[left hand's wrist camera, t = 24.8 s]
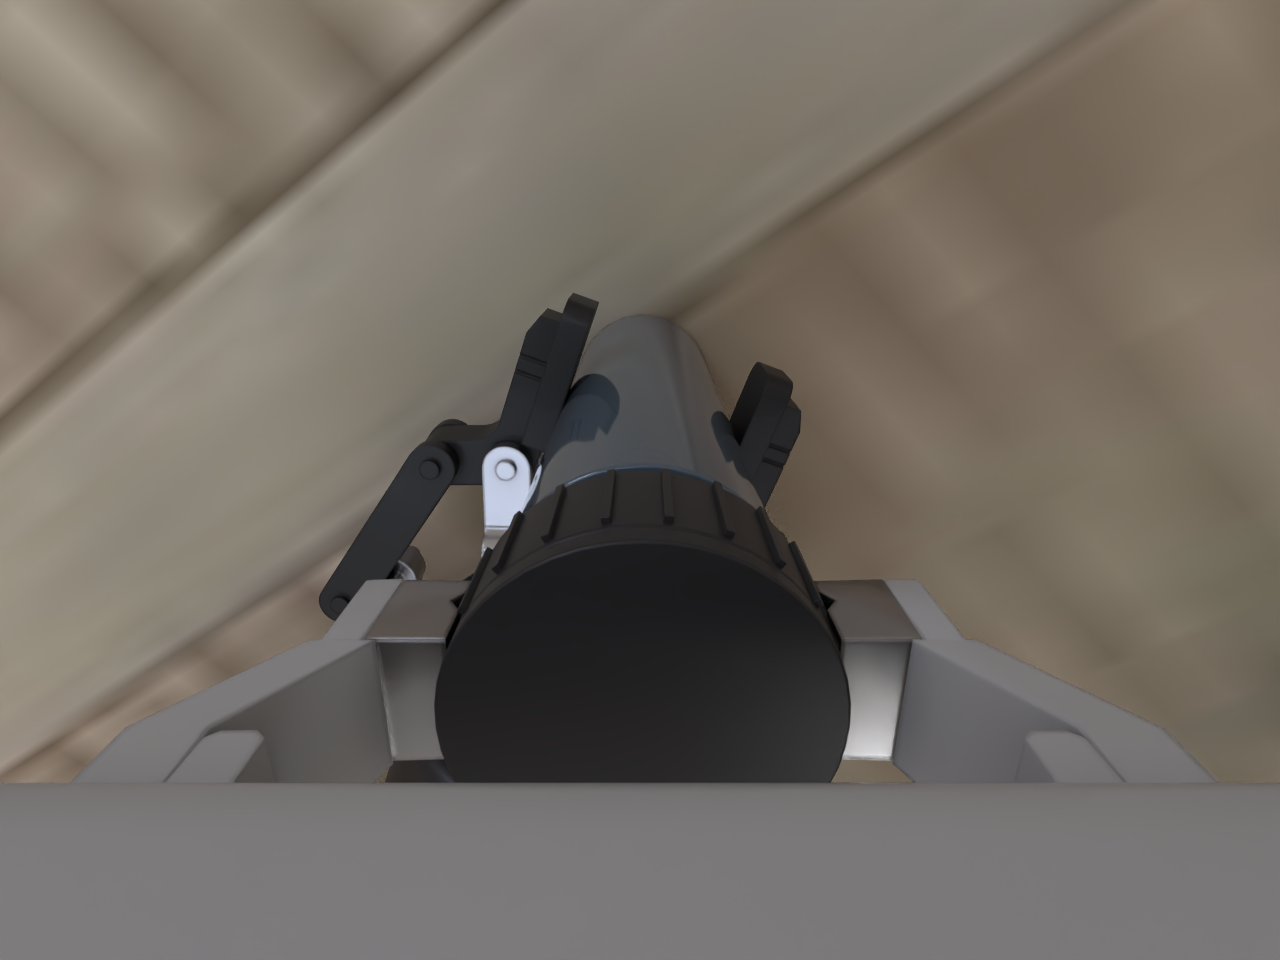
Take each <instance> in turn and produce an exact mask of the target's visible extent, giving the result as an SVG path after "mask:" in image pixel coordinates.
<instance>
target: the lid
mask: <svg viewBox="0 0 1280 960" xmlns="http://www.w3.org/2000/svg"><path fill="white" fill-rule="evenodd" d="M457 612H458V613H459V616H460V621H459V624H458V626H457V628H456V630H455V633H454V635H453V637H452V639H451V642H450V644H449V646H448V648H447V651H446V653H445V655H444V657H443V660H442V663H441V667H440V670H439V674H438V678H437V682H436V690H435V700H434V713H435V727H436V732H437V736H438V741H439V745H440V750H441V753H442V755H443V758H444V760H445V763H446V765H447V768H448V770H449V772H450V774H451V776H452V777H453V779H454V781H455V783H831V781H832V779H833V777H834V775H835V773H836V772H837V770H838V767H839V765H840V762H841V759H842V757H843V754H844V751H845V748H846V744H847V739H848V734H849V729H850V720H851V697H850V689H849V682H848V677H847V674H846V671H845V667H844V664H843V660H842V657H841V655H840V653H839V644H838V642H837V640H836V638H835V636H834V634H833V632H832V629H831V627H830V625H829V623H828V621H827V619H826V618H827V610H826V608H825V606H824V603H823V601H822V599H821V597H820V595H819V592H818V590H817V588H816V586H815V584H814V581H813V579H812V577H811V575H810V572H809V570H808V568H807V566H806V564H805V561H804V559H803V557H802V555H801V553H800V550H799V548H798V546H797V544H796V543H795V541H793V542H791V543H788V542H787V540H786V539H785V537H784V536H783V534H782V533H781V532H780V531H779V530H778V529H777V528H776V527H775V526H774V525H773V524H772V522H771V521H770V520H769V517H768V515H767V512H766V510H765V509H764V508H762V507H761V506H759V507H758V508H757V509H756V508H754V507H753V506H752V505H750V504H749V503H747V502H746V501H744V500H742V499H741V498H739V497H738V496H736V495H734V494H733V493H731V492H729V491H726V490H724V489H723V486H722V483H720V482H718V481H714V482H713V484H711V483H708V482H705V481H701V480H698V479H695V478H692V477H688V476H683V475H677V474H671V473H670V469H666V468H662V469H661V472H648V471H635V472H621V473H616V471H615V469H611V470H607V475H603V476H598V477H593V478H590V479H587V480H584V481H581V482H578V483H575V484H572V485H569V486H567V487H565V486H564V484H561V485H558V486H556V489H555V492H554V493H553V494H551V495H549V496H547V497H546V498H544V499H543V500H541V501H540V502H538V503H537V504H535V505H533V506H532V507H531V508H529V509H528V510H527V511H526V512H525V513H524V514H523V513H522V512H521V511H518V512H517V513H516V514H515V515H514V516H513V519H512V521H511V523H510V526H509V528H508V529H507V531H506V532H505V533H504V534H503V535H502V536H501V537H500V539H499V540H498V542H497V544H496V545H495V547H494V548H493V549H491V548H489V547H487V548H486V550H485V552H484V554H483V556H482V558H481V560H480V562H479V564H478V567H477V569H476V571H475V573H474V575H473V577H472V580H471V582H470V584H469V586H468V588H467V590H466V592H465V595H464V597H463V599H462V601H461V603H460V605H459V608H458V610H457Z"/></svg>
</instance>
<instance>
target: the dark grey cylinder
mask: <svg viewBox="0 0 1280 960" xmlns="http://www.w3.org/2000/svg"><path fill="white" fill-rule="evenodd" d="M662 468H666V469H670V473H671V474H677V475H683V476H688V477H692V478H695V479H698V480H701V481H705V482H708V483H711V484H713V482H714V481H718V482H720V483H722V486H723V489H724V490H726V491H729V492H731V493H733V494H734V495H736V496H738V497H739V498H741V499H742V500H744V501H746V502H747V503H749V504H750V505H752V506H753V507H754V508H756V509H757V508H758V507H759V506H761V507H762V508H764V507H763V505H762V502H761V500H760V497H759V495H758V492H757V490H756V487H755V485H754V482H753V480H752V477H751V475H750V472H749V470H748V467H747V465H746V462H745V460H744V457H743V455H742V452H741V450H740V447H739V445H738V442H737V440H736V437H735V435H734V432H733V430H732V427H731V425H730V422H729V420H728V417H727V415H726V412H725V410H724V407H723V405H722V402H721V400H720V397H719V395H718V392H717V390H716V387H715V385H714V382H713V380H712V378H711V375H710V373H709V370H708V368H707V365H706V363H705V360H704V358H703V355H702V353H701V351H700V349H699V347H698V345H697V344H696V342H695V341H694V339H693V338H692V337H691V336H690V335H689V334H688V333H687V332H686V331H685V330H684V329H682V328H681V327H680V326H678V325H676V324H675V323H673V322H671V321H669V320H667V319H664V318H660V317H656V316H650V315H637V316H630V317H626V318H623V319H620V320H618V321H615V322H613V323H612V324H610V325H608V326H607V327H605V328H604V329H603V330H601V331H600V332H599V333H598V334H597V335H596V336H595V337H594V339H593V340H592V341H591V343H590V344H589V346H588V348H587V349H586V351H585V354H584V356H583V358H582V361H581V363H580V366H579V368H578V371H577V373H576V376H575V378H574V381H573V383H572V386H571V388H570V391H569V393H568V396H567V398H566V401H565V403H564V406H563V408H562V411H561V413H560V415H559V418H558V420H557V423H556V425H555V428H554V430H553V432H552V435H551V437H550V440H549V442H548V445H547V447H546V450H545V452H544V455H543V457H542V460H541V462H540V465H539V467H538V469H537V472H536V474H535V477H534V479H533V482H532V484H531V487H530V489H529V492H528V494H527V497H526V499H525V501H524V504H523V506H522V509H521V512H522V513H523V514H524V513H525V512H526V511H527V510H528V509H529V508H531V507H532V506H533V505H535V504H537V503H538V502H540V501H541V500H543V499H544V498H546V497H547V496H549V495H551V494H553V493H554V492H555V489H556V486H558V485H561V484H564V486H565V487H567V486H569V485H572V484H575V483H578V482H581V481H584V480H587V479H590V478H593V477H598V476H603V475H607V470H611V469H615V471H616V473H621V472H635V471H648V472H661V469H662Z"/></svg>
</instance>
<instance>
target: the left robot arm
mask: <svg viewBox="0 0 1280 960" xmlns="http://www.w3.org/2000/svg"><path fill="white" fill-rule="evenodd" d="M470 582H471V581H449V580H404V579H382V580H368V581H366V582H365V583H364V584H363V585H362V587H361V588H360V589H359V591H358V592H357V593H356V595H355V596H354V597H353V599H352V600H351V601H350V603H349V604H348V605H347V606H346V608H345V609H344V610H343V612H342V613H341V614H340V616H339V617H338V618H337V620H336V621H335V622H334V624H333V625H332V626H331V628H330V629H329V630H328V632H327V633H326V634H325V636H324V637H323V638H322V640H308V641H306V642H304V643H302V644H300V645H298V646H296V647H294V648H292V649H289V650H287V651H285V652H283V653H281V654H279V655H277V656H275V657H273V658H271V659H268V660H266V661H264V662H262V663H260V664H258V665H256V666H254V667H252V668H250V669H247V670H245V671H243V672H241V673H239V674H237V675H235V676H233V677H231V678H229V679H226V680H224V681H222V682H220V683H218V684H216V685H214V686H212V687H210V688H208V689H205V690H203V691H201V692H199V693H197V694H195V695H193V696H191V697H189V698H187V699H184V700H182V701H180V702H178V703H176V704H174V705H172V706H170V707H168V708H166V709H163V710H161V711H159V712H157V713H155V714H153V715H151V716H149V717H147V718H144V719H142V720H140V721H138V722H136V723H134V724H132V725H130V726H128V727H126V728H125V729H124V730H123V731H122V732H121V733H120V734H119V735H118V736H117V737H116V738H115V739H114V740H113V741H112V742H111V743H110V744H109V745H108V746H107V747H106V748H105V749H103V750H102V751H101V752H100V753H99V754H98V755H97V756H96V757H95V758H94V759H93V760H92V761H91V762H90V763H89V764H88V765H87V766H86V767H85V768H84V769H83V770H82V771H81V772H80V773H79V774H78V775H77V776H76V777H75V778H74V779H73V780H72V781H71V782H70V783H0V960H1280V783H1219V782H1218V781H1217V780H1216V779H1215V778H1214V777H1213V776H1212V775H1211V774H1210V773H1209V772H1208V771H1207V770H1206V769H1205V768H1204V767H1203V766H1202V765H1201V764H1200V763H1199V762H1198V761H1197V760H1196V759H1195V758H1194V757H1193V756H1192V755H1191V754H1190V753H1189V752H1188V751H1187V750H1186V749H1185V748H1184V747H1183V746H1182V745H1181V744H1180V743H1179V742H1178V741H1177V740H1176V739H1175V738H1173V737H1172V736H1171V735H1170V734H1169V733H1168V732H1167V731H1166V730H1165V729H1164V728H1162V727H1160V726H1158V725H1156V724H1154V723H1152V722H1150V721H1148V720H1145V719H1143V718H1141V717H1139V716H1137V715H1135V714H1133V713H1131V712H1128V711H1126V710H1124V709H1122V708H1120V707H1118V706H1116V705H1114V704H1112V703H1109V702H1107V701H1105V700H1103V699H1101V698H1099V697H1097V696H1095V695H1093V694H1090V693H1088V692H1086V691H1084V690H1082V689H1080V688H1078V687H1076V686H1074V685H1071V684H1069V683H1067V682H1065V681H1063V680H1061V679H1059V678H1057V677H1055V676H1052V675H1050V674H1048V673H1046V672H1044V671H1042V670H1040V669H1038V668H1036V667H1033V666H1031V665H1029V664H1027V663H1025V662H1023V661H1021V660H1019V659H1016V658H1014V657H1012V656H1010V655H1008V654H1006V653H1004V652H1002V651H1000V650H997V649H995V648H993V647H991V646H989V645H987V644H985V643H983V642H981V641H978V640H965V639H964V637H963V636H962V635H961V633H960V632H959V631H958V630H957V628H956V627H955V626H954V624H953V623H952V622H951V621H950V619H949V618H948V617H947V615H946V614H945V613H944V612H943V610H942V609H941V608H940V606H939V605H938V604H937V603H936V601H935V600H934V599H933V597H932V596H931V595H930V594H929V592H928V591H927V590H926V588H925V587H924V586H923V585H922V583H921V582H920V581H918V580H915V579H898V580H840V581H814V584H815V586H816V588H817V590H818V592H819V595H820V597H821V599H822V601H823V603H824V606H825V608H826V610H827V618H826V619H827V621H828V623H829V625H830V627H831V629H832V632H833V634H834V636H835V638H836V640H837V642H838V644H839V653H840V655H841V657H842V660H843V664H844V667H845V671H846V674H847V677H848V682H849V689H850V697H851V720H850V729H849V734H848V739H847V744H846V748H845V751H844V754H843V757H842V759H850V760H887V761H893V764H894V765H895V766H896V767H897V768H898V769H900V770H901V771H902V772H903V773H904V774H905V775H906V776H908V777H909V778H910V779H911V780H912V781H913V782H914V783H372V782H374V781H375V780H376V779H377V778H378V777H379V776H380V775H382V774H383V773H384V772H385V771H386V770H387V769H388V768H389V767H391V766H392V765H393V761H399V760H434V759H444V758H443V755H442V753H441V750H440V745H439V741H438V736H437V732H436V727H435V713H434V700H435V690H436V682H437V678H438V674H439V670H440V667H441V663H442V660H443V657H444V655H445V653H446V651H447V648H448V646H449V644H450V642H451V639H452V637H453V635H454V633H455V630H456V628H457V626H458V624H459V621H460V616H459V613H458V612H457V610H458V608H459V605H460V603H461V601H462V599H463V597H464V595H465V592H466V590H467V588H468V586H469V584H470Z"/></svg>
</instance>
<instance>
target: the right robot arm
mask: <svg viewBox="0 0 1280 960" xmlns="http://www.w3.org/2000/svg"><path fill="white" fill-rule="evenodd" d="M598 304H599V302H597V301H594V300H592V299H589V298H586V297H584V296H581V295H578V294H575V293H573V294H572V295H571V296H570V297H569V299H568V301H567V303H566V306H565V308H564V311H563V314H562V313H559V312H557V311H554V310H551V309H547V310H546V311H545V312H544V313H543V314H542V315H541V316H540V317H539V318H538V319H537V321H536V322H535V323H534V324H533V325H532V327H531V328H530V329H529V330H528V331H527V333H526V336H525V339H524V343H523V346H522V349H521V352H520V356H519V359H518V362H517V366H516V369H515V373H514V376H513V379H512V382H511V385H510V389H509V392H508V395H507V399H506V402H505V405H504V409H503V412H502V415H501V418H500V420H499V421H497V422H495V423H493V424H489V425H467V424H466V423H464V422H462V421H460V420H456V419H449V420H445V421H443V422H441V423H440V424H439V425H437V427H436V428H435V429H434V430H433V431H432V432H431V434H430V435H429V437H428V438H427V440H426V441H425V442H423V443H421V444H420V445H418V446H417V447H416V448H415V449H414V450H413V451H412V453H411V454H410V455H409V457H408V458H407V460H406V461H405V463H404V464H403V466H402V468H401V469H400V471H399V472H398V474H397V475H396V477H395V478H394V480H393V482H392V483H391V485H390V486H389V488H388V489H387V491H386V492H385V494H384V496H383V497H382V499H381V500H380V502H379V503H378V505H377V506H376V508H375V510H374V511H373V513H372V514H371V516H370V517H369V519H368V520H367V522H366V523H365V525H364V527H363V528H362V530H361V531H360V533H359V534H358V536H357V537H356V539H355V541H354V542H353V544H352V545H351V547H350V548H349V550H348V551H347V553H346V555H345V556H344V558H343V559H342V561H341V562H340V564H339V565H338V567H337V569H336V570H335V572H334V573H333V575H332V576H331V578H330V579H329V581H328V583H327V584H326V586H325V587H324V589H323V590H322V592H321V594H320V597H319V604H320V607H321V609H322V611H323V612H324V614H325V615H326V616H328V617H329V618H330V619H332V620H334V621H336V620H337V618H338V617H339V616H340V614H341V613H342V612H343V610H344V609H345V608H346V606H347V605H348V604H349V603H350V601H351V600H352V599H353V597H354V596H355V595H356V593H357V592H358V591H359V589H360V588H361V587H362V585H363V584H364V583H365V582H366V581H368V580H382V579H404V580H422V577H423V574H424V572H425V568H426V565H425V561H424V558H423V556H422V555H421V554H420V551H419V549H418V548H416V547H414V546H409V545H410V544H411V542H412V541H413V539H414V538H415V536H416V535H417V533H418V532H419V530H420V529H421V527H422V526H423V524H424V523H425V521H426V520H427V519H428V517H429V516H430V514H431V513H432V511H433V510H434V508H435V507H436V505H437V504H438V502H439V501H440V499H441V498H442V496H443V495H444V493H445V492H446V490H447V489H448V487H449V486H450V485H483V504H484V535H483V540H482V550H481V558H482V556H483V554H484V552H485V550H486V548H487V547H489V548H491V549H493V548H494V547H495V545H496V544H497V542H498V540H499V539H500V537H501V536H502V535H503V534H504V533H505V532H506V531H507V529H508V528H509V526H510V523H511V521H512V519H513V516H514V515H515V514H516V513H517V512H518V511H521V509H522V506H523V504H524V501H525V499H526V497H527V494H528V492H529V489H530V487H531V484H532V482H533V479H534V477H535V474H536V472H537V469H538V467H539V465H540V462H541V460H542V457H543V452H545V450H546V447H547V445H548V442H549V440H550V437H551V435H552V432H553V430H554V428H555V425H556V423H557V420H558V418H559V415H560V413H561V411H562V408H563V406H564V403H565V401H566V398H567V396H568V393H569V391H570V388H571V385H572V382H573V379H574V376H575V373H576V370H577V367H578V364H579V361H580V358H581V355H582V352H583V349H584V346H585V343H586V340H587V337H588V334H589V331H590V328H591V325H592V322H593V319H594V316H595V313H596V310H597V307H598ZM792 389H793V382H792V381H791V380H790V379H789V377H788V376H787V375H786V374H785V373H784V372H783V371H782V370H779V369H776V368H774V367H771V366H768V365H765V364H763V363H760V362H757V363H756V364H755V365H754V367H753V368H752V370H751V372H750V374H749V376H748V379H747V381H746V383H745V386H744V388H743V390H742V393H741V395H740V398H739V400H738V402H737V405H736V407H735V409H734V412H733V414H732V416H731V419H730V421H729V422H730V425H731V427H732V430H733V432H734V435H735V437H736V440H737V442H738V445H739V447H740V450H741V452H742V455H743V457H744V460H745V462H746V465H747V467H748V470H749V472H750V475H751V477H752V480H753V482H754V485H755V487H756V490H757V492H758V495H759V497H760V500H761V502H762V505H763V507H764V509H765V506H766V504H767V502H768V500H769V498H770V496H771V493H772V491H773V489H774V487H775V485H776V483H777V480H778V478H779V476H780V474H781V472H782V470H783V466H784V465H785V463H786V461H787V459H788V457H789V455H790V451H791V450H792V448H793V446H794V444H795V442H796V439H797V437H798V435H799V433H800V422H801V410H800V409H799V408H798V407H797V406H796V404H795V403H794V402H793V401H792V399H791V398H790V397H791V394H792ZM780 532H781V531H780ZM781 533H782V532H781ZM782 534H783V533H782ZM783 536H784V537H785V535H784V534H783ZM785 539H786V537H785ZM786 540H787V539H786ZM787 542H788V541H787ZM473 575H474V574H472V575H470V576H469V577H467V578H466V579H464V580H463V581H471V580H472V577H473ZM385 783H455V781H454V779H453V777H452V776H451V774H450V772H449V770H448V768H447V765H446V763H445V760H444V759H434V760H399V761H393V765H392V766H391V767H390V768H389V771H388V775H387V778H386V781H385Z"/></svg>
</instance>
